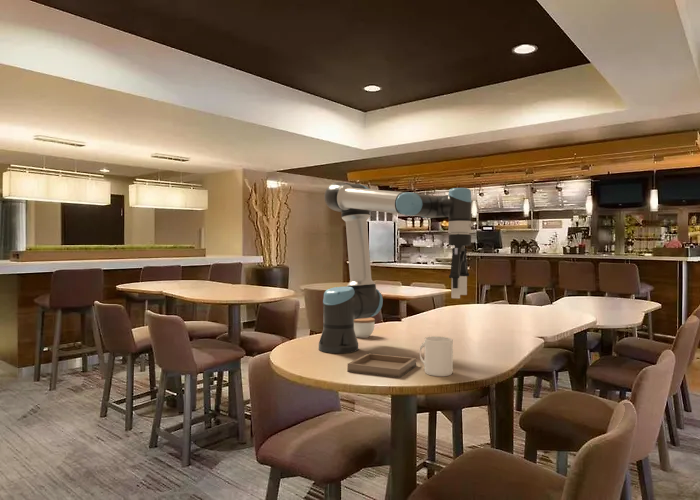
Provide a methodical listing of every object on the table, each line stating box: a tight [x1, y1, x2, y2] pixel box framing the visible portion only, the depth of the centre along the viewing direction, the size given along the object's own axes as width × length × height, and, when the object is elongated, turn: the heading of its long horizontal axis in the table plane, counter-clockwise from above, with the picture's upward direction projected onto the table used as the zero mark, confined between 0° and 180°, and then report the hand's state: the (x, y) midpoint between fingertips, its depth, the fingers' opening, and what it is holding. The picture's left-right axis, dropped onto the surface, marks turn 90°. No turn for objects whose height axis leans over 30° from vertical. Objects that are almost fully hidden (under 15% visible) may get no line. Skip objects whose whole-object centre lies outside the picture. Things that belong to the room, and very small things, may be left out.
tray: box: [346, 353, 417, 379], centre depth 160 cm, size 17×17×2 cm
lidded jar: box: [354, 317, 376, 339], centre depth 219 cm, size 11×11×9 cm
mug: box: [418, 335, 454, 377], centre depth 156 cm, size 9×12×11 cm
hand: (459, 296), depth 170 cm, fingers open, 13 cm apart
